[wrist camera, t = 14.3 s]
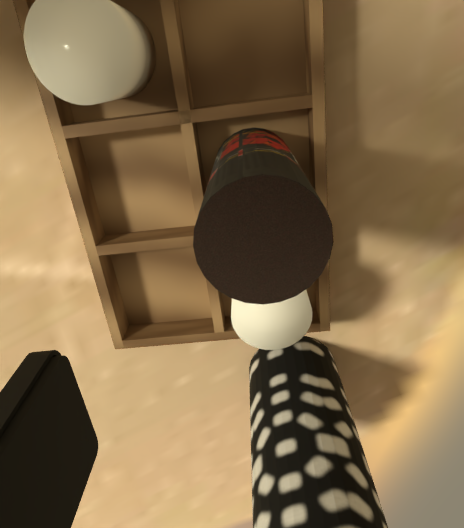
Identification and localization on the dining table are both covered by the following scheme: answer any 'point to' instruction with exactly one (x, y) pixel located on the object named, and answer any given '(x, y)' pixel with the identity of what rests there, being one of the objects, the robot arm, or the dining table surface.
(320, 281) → the crate
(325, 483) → the spotted tube
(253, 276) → the deodorant
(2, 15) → the dining table surface
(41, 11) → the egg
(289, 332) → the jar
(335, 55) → the dining table surface
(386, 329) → the dining table surface
